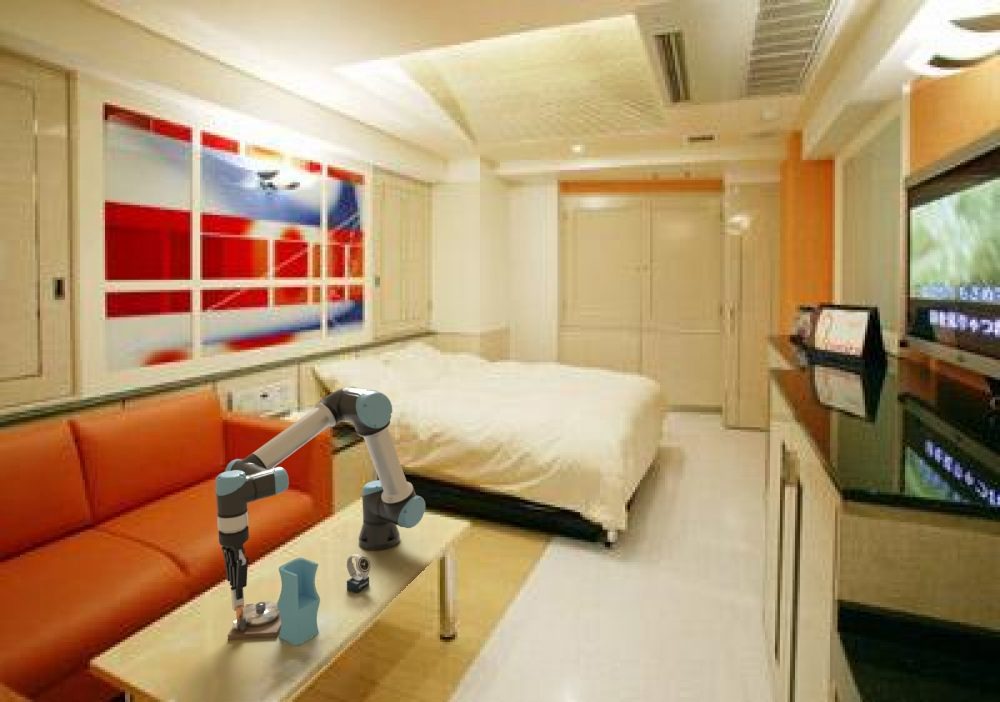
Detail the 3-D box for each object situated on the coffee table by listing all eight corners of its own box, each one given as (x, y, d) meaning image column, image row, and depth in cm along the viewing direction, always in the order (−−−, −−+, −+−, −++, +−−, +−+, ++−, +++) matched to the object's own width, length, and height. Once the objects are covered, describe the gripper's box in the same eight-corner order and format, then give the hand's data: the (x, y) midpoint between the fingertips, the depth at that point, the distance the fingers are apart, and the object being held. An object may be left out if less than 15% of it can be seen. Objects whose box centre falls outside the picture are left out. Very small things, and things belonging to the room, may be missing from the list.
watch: (361, 595, 177) (360, 562, 176) (343, 588, 181) (342, 555, 180) (374, 587, 182) (373, 554, 181) (355, 580, 186) (354, 548, 185)
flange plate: (268, 602, 170) (267, 584, 169) (286, 614, 163) (285, 596, 163) (226, 621, 160) (225, 602, 159) (244, 635, 154) (243, 616, 153)
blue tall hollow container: (297, 646, 152) (294, 576, 150) (278, 637, 156) (275, 568, 154) (321, 631, 159) (318, 563, 156) (302, 622, 163) (299, 556, 161)
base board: (246, 608, 170) (246, 593, 169) (291, 606, 171) (290, 590, 170) (228, 639, 155) (227, 622, 154) (277, 637, 156) (276, 620, 156)
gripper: (257, 530, 154) (261, 611, 157) (238, 516, 163) (242, 593, 166) (228, 539, 149) (233, 623, 152) (210, 524, 158) (215, 604, 161)
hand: (238, 608), depth 159 cm, fingers closed
